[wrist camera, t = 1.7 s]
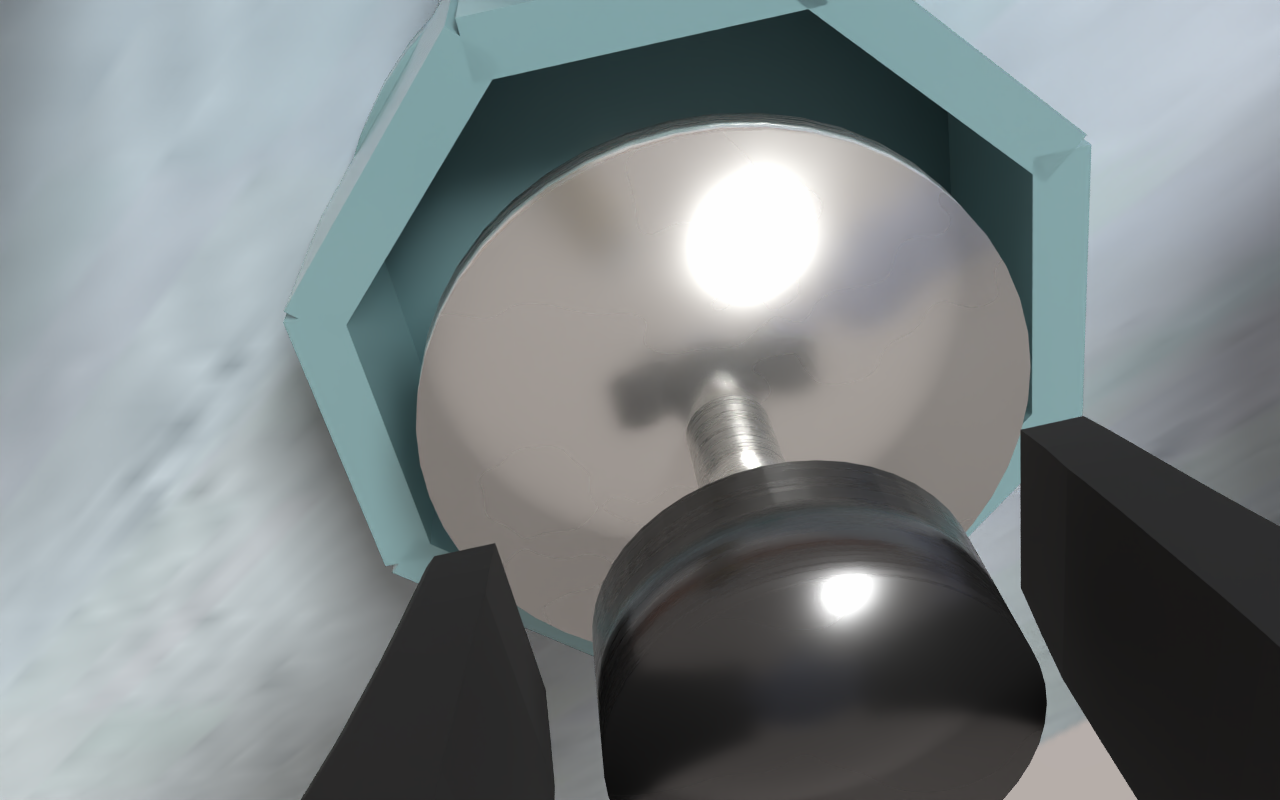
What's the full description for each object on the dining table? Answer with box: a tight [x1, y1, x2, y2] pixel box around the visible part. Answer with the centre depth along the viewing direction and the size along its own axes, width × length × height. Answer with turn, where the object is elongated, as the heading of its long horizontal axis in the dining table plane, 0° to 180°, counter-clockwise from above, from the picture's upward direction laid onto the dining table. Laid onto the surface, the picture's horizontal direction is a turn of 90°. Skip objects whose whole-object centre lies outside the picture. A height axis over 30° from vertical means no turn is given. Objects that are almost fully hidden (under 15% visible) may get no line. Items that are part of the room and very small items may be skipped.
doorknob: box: [416, 113, 1047, 800], centre depth 11 cm, size 7×7×5 cm
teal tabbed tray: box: [283, 0, 1091, 656], centre depth 15 cm, size 10×12×4 cm
